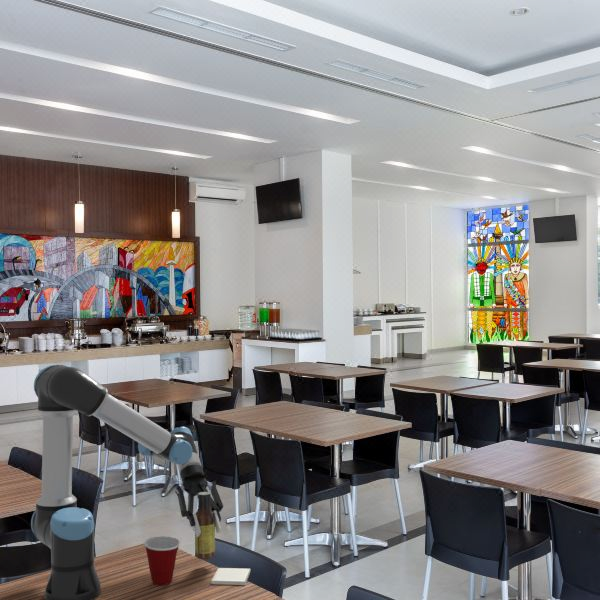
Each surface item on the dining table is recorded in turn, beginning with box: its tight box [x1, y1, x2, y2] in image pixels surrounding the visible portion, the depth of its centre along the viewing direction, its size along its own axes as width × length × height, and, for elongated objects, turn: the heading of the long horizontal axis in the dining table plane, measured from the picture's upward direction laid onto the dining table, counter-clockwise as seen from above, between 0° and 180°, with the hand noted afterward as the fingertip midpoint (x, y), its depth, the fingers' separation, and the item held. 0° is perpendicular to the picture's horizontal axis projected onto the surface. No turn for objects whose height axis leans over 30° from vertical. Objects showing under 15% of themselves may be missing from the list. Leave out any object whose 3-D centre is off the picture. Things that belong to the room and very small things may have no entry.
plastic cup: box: [143, 535, 181, 586], centre depth 207 cm, size 11×11×12 cm
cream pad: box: [210, 567, 251, 586], centre depth 209 cm, size 10×10×1 cm
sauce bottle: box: [194, 491, 216, 560], centre depth 218 cm, size 7×6×20 cm
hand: (209, 532), depth 215 cm, fingers closed on sauce bottle, 6 cm apart
